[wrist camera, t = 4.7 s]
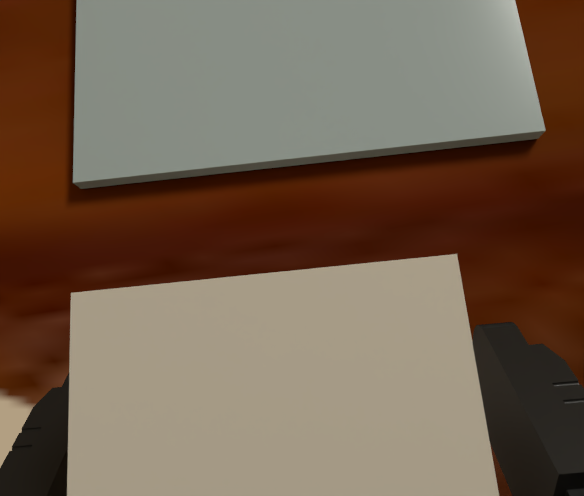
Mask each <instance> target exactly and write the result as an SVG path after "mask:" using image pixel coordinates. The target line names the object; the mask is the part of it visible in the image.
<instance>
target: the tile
mask: <svg viewBox="0 0 584 496" xmlns="http://www.w3.org/2000/svg"><path fill="white" fill-rule="evenodd" d="M544 132H545V126H544V122H543V118H542V114H541V109H540V105H539V101H538V96H537V92H536V88H535V84H534V79H533V75H532V71H531V67H530V62H529V58H528V54H527V49H526V45H525V41H524V37H523V32H522V28H521V24H520V19H519V15H518V11H517V7H516V2H515V0H77V4H76V53H75V103H74V152H73V183H74V184H75V185H77V186H78V187H79V188H81V189H85V188H94V187H103V186H112V185H122V184H131V183H140V182H149V181H158V180H167V179H176V178H185V177H195V176H204V175H213V174H222V173H231V172H240V171H249V170H258V169H267V168H277V167H286V166H295V165H304V164H313V163H322V162H331V161H340V160H350V159H359V158H368V157H377V156H386V155H395V154H404V153H413V152H422V151H432V150H441V149H450V148H459V147H468V146H477V145H486V144H495V143H504V142H514V141H523V140H532V139H538V138H539V137H540V136H541V135H542V134H543V133H544Z"/></svg>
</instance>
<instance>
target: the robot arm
mask: <svg viewBox="0 0 584 496" xmlns="http://www.w3.org/2000/svg"><path fill="white" fill-rule="evenodd" d="M473 349H474V355H475V361H476V366H477V372H478V378H479V384H480V389H481V395H482V401H483V406H484V412H485V418H486V424H487V429H488V435H489V441H490V443H491V445H492V448H493V450H494V452H495V455H496V457H497V460H498V462H499V464H500V467H501V469H502V472H503V474H504V476H505V479H506V481H507V483H508V486H509V488H510V491H511V493H512V495H513V496H584V388H583V387H582V385H579V383H578V379H577V378H576V376H575V375H574V374H573V372H572V371H571V369H570V368H569V366H568V365H567V363H566V362H565V360H563V359H562V358H561V357H559V356H558V355H557V354H555V353H554V352H553V351H551V350H550V349H549V348H547V347H546V346H545V345H543V344H535V345H528V343H527V342H526V340H525V338H524V337H523V335H522V334H521V332H520V330H519V329H518V327H517V326H516V325H515V324H514V323H513V322H506V323H495V324H485V325H477V326H476V327H475V329H474V335H473ZM68 418H69V374H68V376H67V378H66V380H65V382H64V384H63V386H62V387H58V388H52V389H51V390H50V391H49V392H48V393H47V394H46V395H45V396H44V397H43V398H42V399H41V400H40V401H39V402H38V403H37V404H36V405H35V406H34V407H33V409H32V411H31V413H30V415H29V416H28V418H27V420H26V422H25V424H24V426H23V427H22V433H19V435H18V437H17V438H16V441H15V442H14V444H13V446H12V451H10V452H9V453H8V455H7V457H6V459H5V460H4V462H3V464H2V466H1V468H0V496H67V468H68Z"/></svg>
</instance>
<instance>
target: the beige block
mask: <svg viewBox="0 0 584 496" xmlns="http://www.w3.org/2000/svg"><path fill="white" fill-rule="evenodd" d="M67 496H499V492H498V487H497V481H496V475H495V469H494V464H493V458H492V452H491V446H490V441H489V435H488V429H487V424H486V418H485V412H484V406H483V401H482V395H481V389H480V384H479V378H478V372H477V366H476V361H475V355H474V349H473V344H472V338H471V332H470V326H469V321H468V315H467V309H466V304H465V298H464V292H463V286H462V281H461V275H460V269H459V263H458V258H457V254H453V255H443V256H433V257H423V258H413V259H403V260H393V261H384V262H374V263H364V264H354V265H344V266H334V267H324V268H314V269H304V270H294V271H284V272H274V273H264V274H255V275H245V276H235V277H225V278H215V279H205V280H195V281H185V282H175V283H165V284H155V285H145V286H135V287H126V288H116V289H106V290H96V291H86V292H76V293H71V317H70V367H69V418H68V468H67Z"/></svg>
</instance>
